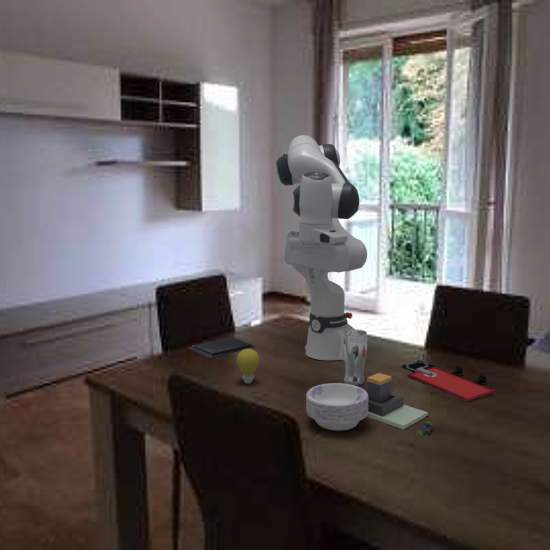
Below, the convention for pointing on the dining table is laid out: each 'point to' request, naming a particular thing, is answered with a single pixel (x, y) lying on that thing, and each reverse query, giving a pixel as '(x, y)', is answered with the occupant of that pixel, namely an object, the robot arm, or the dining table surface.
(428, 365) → the red board with handle
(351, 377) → the beer glass
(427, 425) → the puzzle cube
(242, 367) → the light bulb
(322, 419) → the paper bowls
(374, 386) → the plug
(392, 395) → the board
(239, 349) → the wallet
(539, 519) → the dining table surface
